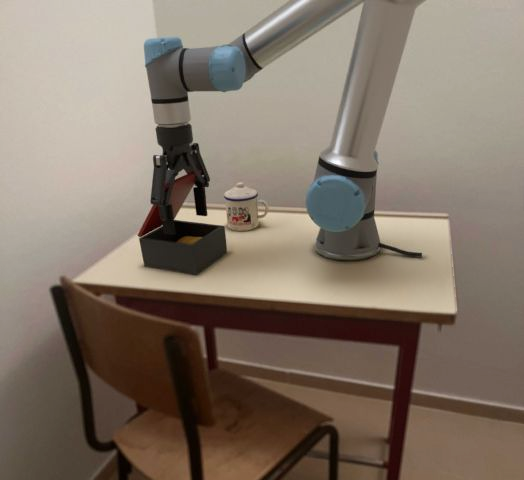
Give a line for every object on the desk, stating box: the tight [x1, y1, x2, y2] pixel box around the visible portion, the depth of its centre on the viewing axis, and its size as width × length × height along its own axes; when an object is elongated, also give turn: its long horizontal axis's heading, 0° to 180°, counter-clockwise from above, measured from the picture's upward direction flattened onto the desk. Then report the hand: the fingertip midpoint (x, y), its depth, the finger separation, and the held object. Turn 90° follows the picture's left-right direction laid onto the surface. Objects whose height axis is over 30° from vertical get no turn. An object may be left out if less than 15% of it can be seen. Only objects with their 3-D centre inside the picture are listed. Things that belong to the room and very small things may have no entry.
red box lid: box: [136, 169, 201, 238], centre depth 118 cm, size 16×14×1 cm
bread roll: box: [177, 236, 203, 244], centre depth 122 cm, size 8×9×4 cm
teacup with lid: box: [223, 181, 270, 232], centre depth 139 cm, size 12×9×12 cm
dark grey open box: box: [138, 219, 228, 276], centre depth 122 cm, size 15×14×7 cm
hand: (186, 224), depth 119 cm, fingers open, 12 cm apart
